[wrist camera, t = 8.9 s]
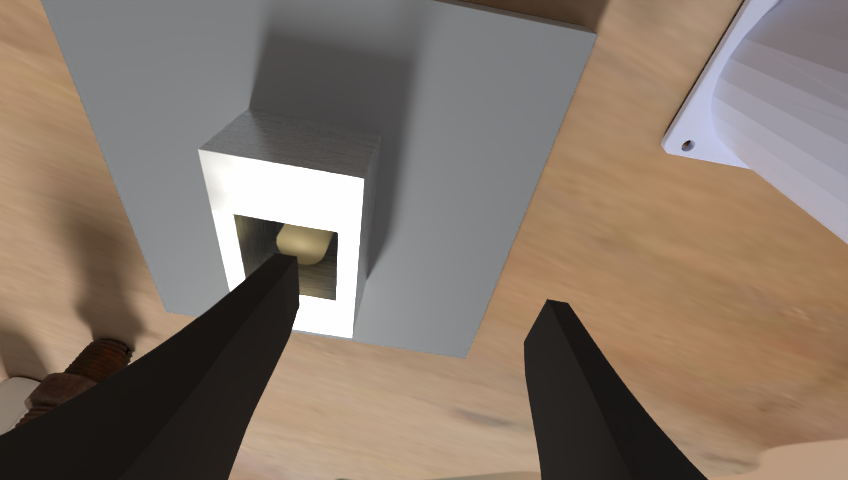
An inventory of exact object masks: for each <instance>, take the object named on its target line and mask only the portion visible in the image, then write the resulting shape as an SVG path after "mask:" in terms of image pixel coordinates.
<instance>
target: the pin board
mask: <svg viewBox="0 0 848 480" xmlns="http://www.w3.org/2000/svg"><path fill="white" fill-rule="evenodd" d="M41 2H42V5H43V7H44V10H45V12H46V15H47V17H48V20H49V22H50V25H51V27H52V30H53V32H54V35H55V37H56V40H57V42H58V45H59V47H60V50H61V52H62V55H63V57H64V60H65V62H66V65H67V67H68V70H69V72H70V75H71V77H72V79H73V82H74V84H75V87H76V89H77V92H78V94H79V97H80V99H81V102H82V104H83V107H84V109H85V112H86V114H87V117H88V119H89V122H90V124H91V127H92V129H93V132H94V134H95V137H96V139H97V142H98V144H99V147H100V149H101V152H102V154H103V157H104V159H105V162H106V164H107V167H108V169H109V172H110V174H111V177H112V179H113V182H114V184H115V187H116V189H117V192H118V194H119V197H120V199H121V202H122V204H123V206H124V209H125V211H126V214H127V216H128V219H129V221H130V224H131V226H132V229H133V231H134V234H135V236H136V239H137V241H138V244H139V246H140V249H141V251H142V254H143V256H144V259H145V261H146V264H147V266H148V269H149V271H150V274H151V276H152V279H153V281H154V284H155V286H156V289H157V291H158V294H159V296H160V299H161V301H162V304H163V306H164V309H165V311H166V312H169V313H175V314H182V315H188V316H194V317H199V316H200V315H202V314H203V313H204V312H206V311H207V310H208V309H210V308H211V307H212V306H213V305H215V304H216V303H217V302H218V301H219V300H221V299H222V298H223V297H224V296H226V295H227V294H228V293H229V292H230V289H229V285H228V280H227V276H226V271H225V267H224V263H223V258H222V254H221V249H220V245H219V240H218V236H217V232H216V227H215V223H214V218H213V214H212V210H211V205H210V201H209V196H208V192H207V188H206V183H205V179H204V174H203V170H202V165H201V161H200V157H199V152H198V149H199V148H200V147H201V146H202V145H204V144H205V143H206V142H207V141H209V140H210V139H211V138H212V137H213V136H215V135H216V134H217V133H218V132H220V131H221V130H222V129H223V128H224V127H226V126H227V125H228V124H229V123H231V122H232V121H233V120H234V119H236V118H237V117H238V116H239V115H240V114H242V113H243V112H244V111H245V110H247V109H248V108H254V109H259V110H264V111H270V112H275V113H280V114H286V115H291V116H297V117H302V118H307V119H313V120H318V121H324V122H329V123H334V124H340V125H345V126H351V127H356V128H361V129H367V130H372V131H378V132H382V135H381V145H380V155H379V165H378V175H377V184H376V194H375V204H374V214H373V224H372V234H371V244H370V254H369V264H368V274H367V282H366V286H365V290H364V293H363V297H362V301H361V305H360V309H359V313H358V316H357V320H356V324H355V328H354V332H353V335H352V338H349V337H343V336H336V335H330V334H324V333H317V332H311V331H305V330H298V329H292V331H291V332H297V333H303V334H309V335H316V336H322V337H329V338H335V339H341V340H348V341H354V342H360V343H367V344H373V345H380V346H386V347H392V348H399V349H405V350H412V351H418V352H424V353H431V354H437V355H444V356H450V357H456V358H463V359H466V357H467V355H468V352H469V350H470V347H471V345H472V343H473V340H474V338H475V335H476V333H477V330H478V328H479V325H480V323H481V320H482V318H483V315H484V313H485V311H486V308H487V306H488V303H489V301H490V298H491V296H492V293H493V291H494V288H495V286H496V283H497V281H498V279H499V276H500V274H501V271H502V269H503V266H504V264H505V261H506V259H507V256H508V254H509V252H510V249H511V247H512V244H513V242H514V239H515V237H516V234H517V232H518V229H519V227H520V224H521V222H522V220H523V217H524V215H525V212H526V210H527V207H528V205H529V202H530V200H531V197H532V195H533V192H534V190H535V188H536V185H537V183H538V180H539V178H540V175H541V173H542V170H543V168H544V165H545V163H546V160H547V158H548V156H549V153H550V151H551V148H552V146H553V143H554V141H555V138H556V136H557V133H558V131H559V129H560V126H561V124H562V121H563V119H564V116H565V114H566V111H567V109H568V106H569V104H570V101H571V99H572V97H573V94H574V92H575V89H576V87H577V84H578V82H579V79H580V77H581V74H582V72H583V69H584V67H585V65H586V62H587V60H588V57H589V55H590V52H591V50H592V47H593V45H594V42H595V40H596V38H597V35H598V34H597V33H595V32H594V31H592V30H591V29H589V28H588V27H586V26H581V25H576V24H571V23H567V22H562V21H557V20H552V19H547V18H542V17H537V16H532V15H528V14H523V13H518V12H513V11H508V10H503V9H498V8H493V7H489V6H484V5H479V4H474V3H469V2H464V1H459V0H41ZM279 232H280V233H279V234H278V236H277V246H278V248H279V250H280V252H281V253H282V254H285V255H291V256H297V260H298V263H299V264H305V265H309V264H315V263H317V262H319V261H321V260H322V259H323V257H324V255H325V253H326V251H327V248H328V246H329V243H330V241H335V242H338V241H339V232H337V231H331V230H325V229H319V228H313V227H308V226H302V225H296V224H290V223H284V222H279Z"/></svg>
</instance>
